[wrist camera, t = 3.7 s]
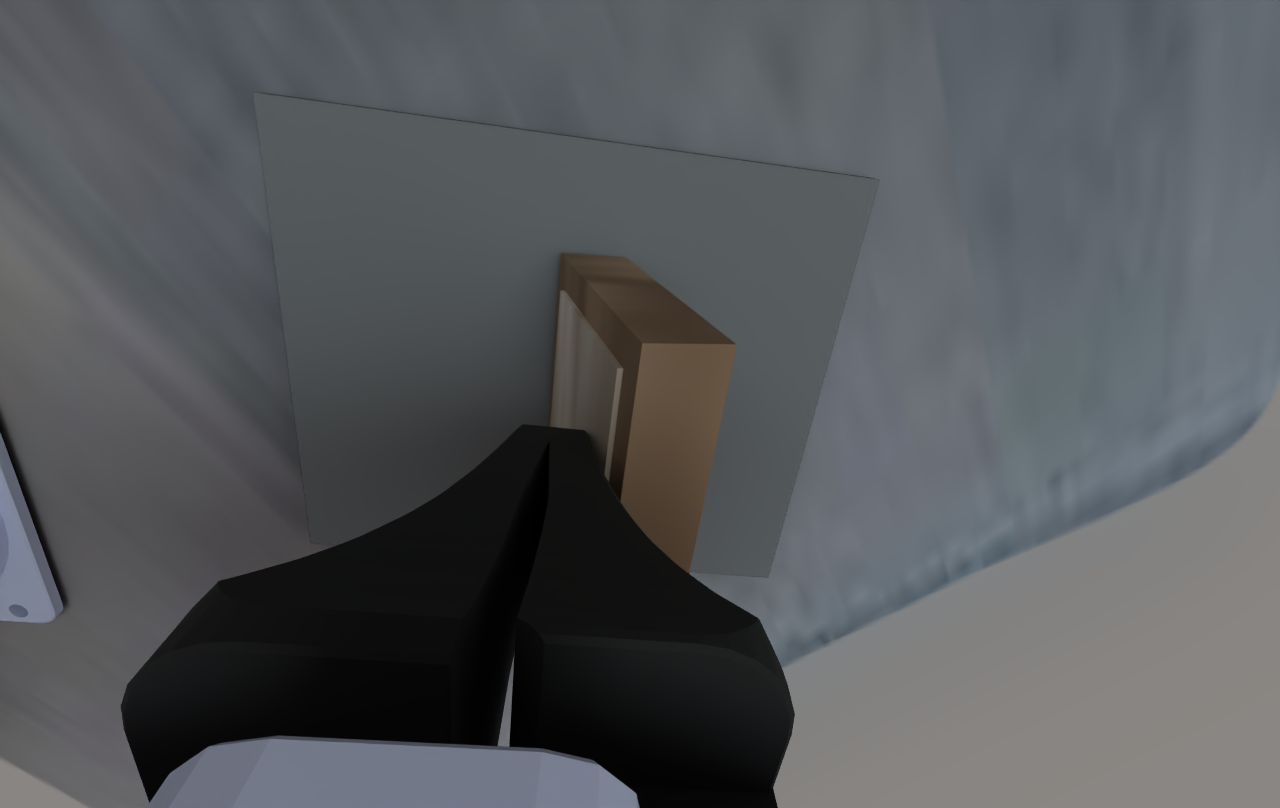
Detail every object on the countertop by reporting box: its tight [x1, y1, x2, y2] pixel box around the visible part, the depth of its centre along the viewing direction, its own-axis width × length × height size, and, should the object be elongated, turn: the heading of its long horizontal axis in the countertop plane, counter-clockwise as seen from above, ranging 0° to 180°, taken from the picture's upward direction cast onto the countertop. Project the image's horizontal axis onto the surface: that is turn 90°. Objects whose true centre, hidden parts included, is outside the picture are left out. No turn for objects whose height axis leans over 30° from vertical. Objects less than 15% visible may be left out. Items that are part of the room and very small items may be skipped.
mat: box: [253, 92, 880, 578], centre depth 16 cm, size 14×12×1 cm
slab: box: [548, 253, 737, 574], centre depth 13 cm, size 2×7×6 cm, turn 173°
